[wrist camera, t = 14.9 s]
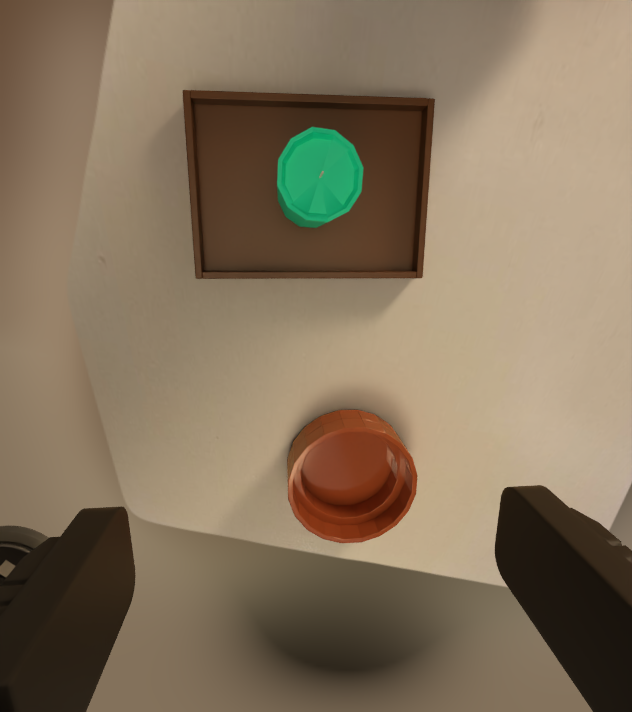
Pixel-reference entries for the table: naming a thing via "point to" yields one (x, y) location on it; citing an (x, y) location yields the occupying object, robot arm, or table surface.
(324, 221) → the candle
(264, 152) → the tray
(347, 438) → the bowl
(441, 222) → the table surface
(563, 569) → the robot arm
